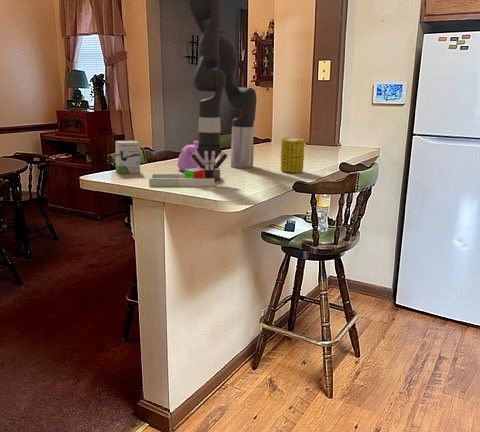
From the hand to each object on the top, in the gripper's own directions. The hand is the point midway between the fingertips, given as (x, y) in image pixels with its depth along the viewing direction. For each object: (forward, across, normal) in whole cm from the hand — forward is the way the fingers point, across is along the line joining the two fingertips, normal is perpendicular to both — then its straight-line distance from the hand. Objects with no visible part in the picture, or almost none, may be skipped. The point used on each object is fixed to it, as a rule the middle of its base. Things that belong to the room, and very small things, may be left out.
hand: (209, 180), depth 166 cm
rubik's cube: (+1, +5, +1) cm, 5 cm away
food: (+2, -37, -25) cm, 44 cm away
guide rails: (+1, +5, 0) cm, 5 cm away
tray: (+1, +15, 0) cm, 15 cm away
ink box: (+1, +29, -23) cm, 37 cm away
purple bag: (+2, +2, -28) cm, 28 cm away
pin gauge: (+1, -1, -9) cm, 9 cm away
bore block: (+1, 0, -9) cm, 9 cm away
